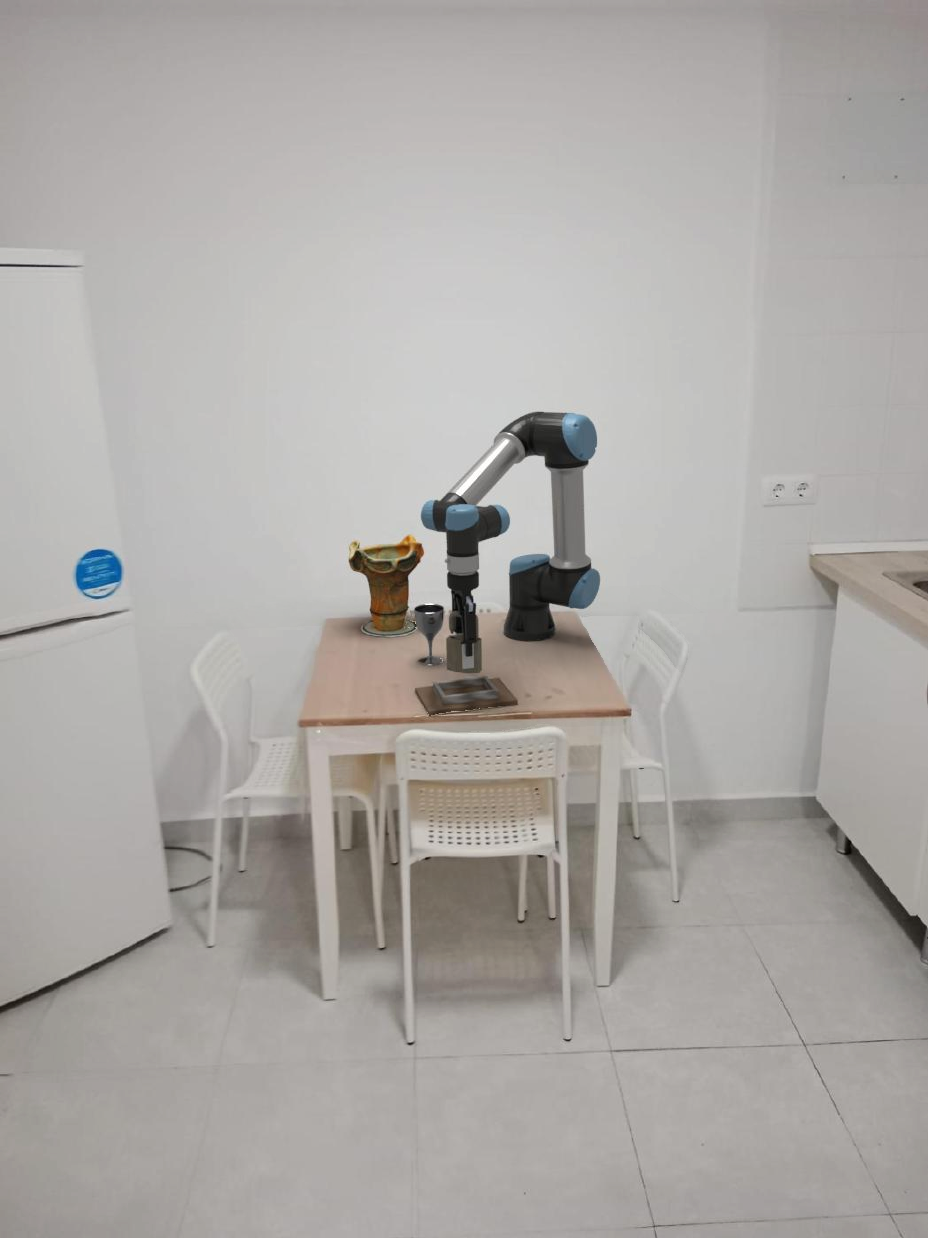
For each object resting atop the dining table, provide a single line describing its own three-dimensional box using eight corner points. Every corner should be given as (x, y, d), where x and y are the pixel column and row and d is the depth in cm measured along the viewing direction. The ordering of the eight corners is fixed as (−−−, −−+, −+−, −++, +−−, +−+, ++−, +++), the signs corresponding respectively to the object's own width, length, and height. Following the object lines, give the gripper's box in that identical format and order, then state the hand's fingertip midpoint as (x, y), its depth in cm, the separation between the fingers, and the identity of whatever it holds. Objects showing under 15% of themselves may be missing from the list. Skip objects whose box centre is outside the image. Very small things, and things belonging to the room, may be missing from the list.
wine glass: (441, 666, 252) (440, 613, 248) (413, 665, 254) (411, 612, 249) (448, 656, 260) (446, 604, 255) (420, 654, 261) (418, 603, 257)
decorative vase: (339, 622, 288) (339, 532, 280) (410, 615, 297) (411, 528, 289) (360, 643, 270) (360, 548, 262) (435, 635, 279) (437, 542, 271)
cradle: (498, 682, 241) (498, 670, 240) (517, 704, 228) (517, 692, 227) (415, 692, 236) (414, 680, 235) (429, 716, 222) (428, 703, 221)
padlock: (451, 665, 232) (450, 607, 228) (482, 669, 230) (482, 610, 225) (445, 671, 229) (444, 612, 224) (477, 674, 226) (476, 615, 221)
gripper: (437, 562, 229) (439, 652, 236) (458, 583, 212) (459, 678, 219) (467, 560, 231) (468, 648, 238) (489, 580, 214) (490, 675, 221)
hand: (464, 663), depth 229 cm, fingers closed on padlock, 6 cm apart
